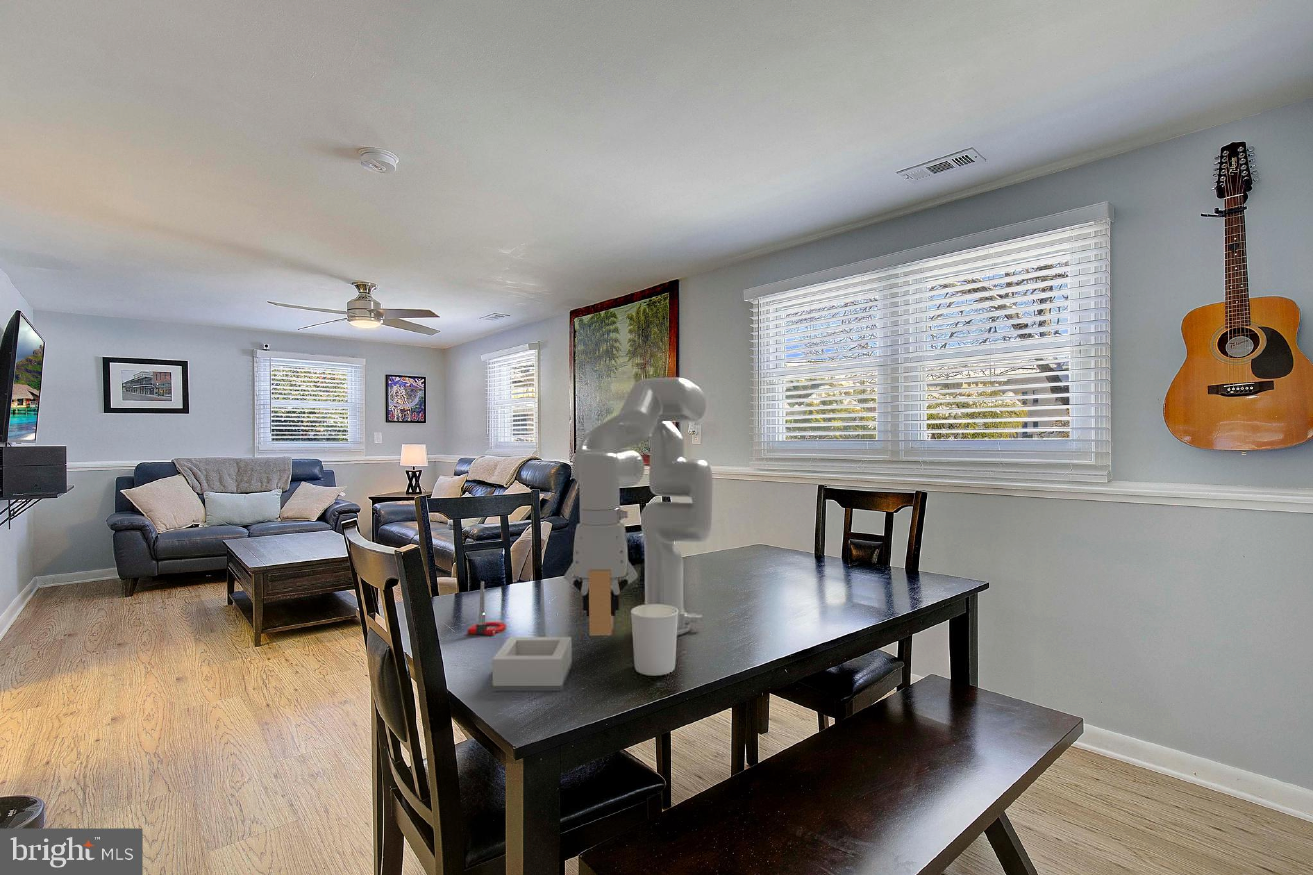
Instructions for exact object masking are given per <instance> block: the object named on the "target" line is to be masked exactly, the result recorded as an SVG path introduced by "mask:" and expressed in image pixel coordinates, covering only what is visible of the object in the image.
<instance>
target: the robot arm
mask: <svg viewBox="0 0 1313 875" xmlns="http://www.w3.org/2000/svg"><path fill="white" fill-rule="evenodd" d="M706 404H707V401H706V397H705V393H704V391H703V389H701V387H699V386H698V385H696V384H695V383H694V382H692V381H690V380H688V379H686V378H683V377H678V376H676V377H651V378H649V377H648V378H643V379H640V380H638V381H636V382H635V383H634V385H633V386H632V387H631V389H630V391H629V393H628V394H627V397H626V399H625V401H624V403H623V405H622V407H621V408H620V410H619V412H618V414H617V415H615V416H613V417H611V418H609V419H607V420H605V421H604V422H602V423H600V424H599V425H597V426H596V427H594V428H593V429H592V430H590V431H588V433H587V434H586V435H585V436H584V437H583V439H582V441H581V442H580V444H579V446H578V448H577V450H576V452H575V455H574V457H573V460H572V467H571V468H572V475H573V478H574V480H575V481H576V482H577V483H578V484H579V488H578V489H579V523H576V526H575V527H576V529H575V533H574V539H573V540H574V542H573V554H572V559H573V560H572V561H573V562H572V563H571V564H570V566H569V568H568V569H567V570H566V573H565V574H564V575H563V579H564V580H565V581H567V582H569V583H570V584H572V585H573V586H574V587H575V588H576V589H577V590H578V591H579V592H580V594H581V595H582V609H583V611H585V612H586V617H589V571H597V570H610V574H611V583H612V588H613V590H612V595H611V615H612V616H613V617H616V613H617V611H620V593H621V592H622V591H623V590H624V589H625V588H626V587H627V586H628V585H629V584H631V583H633V581H635V580H637V578H638V577H639V575H638V573H637V571H636V570H635V568H634V566H633V565H632V564H631V562H630V561H629V554H628V552H629V551H628V540H627V539H628V538H627V531H626V527H625V523H623V522H621V521H622V520H624V519H628V518H629V517H628V510H622V509H621V504H620V502H621V501H620V497H621V495H620V492H621V491H620V488H627V487H634V486H635V485H637V484H639V482H640V481H641V480H642V479H643V476H644V474H645V461H644V459H643V457H642V456H641V454H640V453H639V452H637V451H636V450H633V449H628V448H631V447H632V446H636V445H638V444H641V443H642V442H644V441H647V440H650V449H649V451H650V452H649V470H648V471H649V474H648V483H649V485H648V486H649V489H650V491H651V493H652V494H654V495H655V496H659V497H669V498H670V497H671V498H690V499H691V502H677V501H656V502H651V503H649V504H647V505H645V506H644V507H643V509H642V511H641V514H640V527H641V532H642V539H643V546H644V605H648V604H662V605H669V606H673V607H675V608H677V609H678V621H677V636H680V635H683V634H686V633H688V632H689V631H690V630H691V629H690V627H691V626H690V623H691V624H693V623H694V624H702V623H703V618H702V617H703V615H702V614H697V613H692V612H691V613H688V612H686V611H685V608H684V560H683V556H682V553H681V551H680V549H679V547H677V546H678V545H676V543H675V542H686V543H701V542H705V541H706V540H708V539H709V537H710V535H711V530H712V520H713V519H712V518H713V517H712V516H713V514H712V513H713V511H712V510H713V483H714V482H713V472H712V468H711V466H710V463H708V462H707V461H706V460H704V459H698V458H685V457H684V456H685V455H684V454H685V453H684V452H685V450H684V449H685V441H684V440H685V439H684V437H683V435H682V434H681V432H680V431H679V429H678V428H677V427H676V425H674V424H673V423H675V422H676V423H679V422H697V421H700V420H701V419H702V418H703V417H704V415H705V413H706V408H707V405H706ZM627 574H628V575H627ZM581 579H582V580H581ZM620 579H621V580H620Z"/></svg>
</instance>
